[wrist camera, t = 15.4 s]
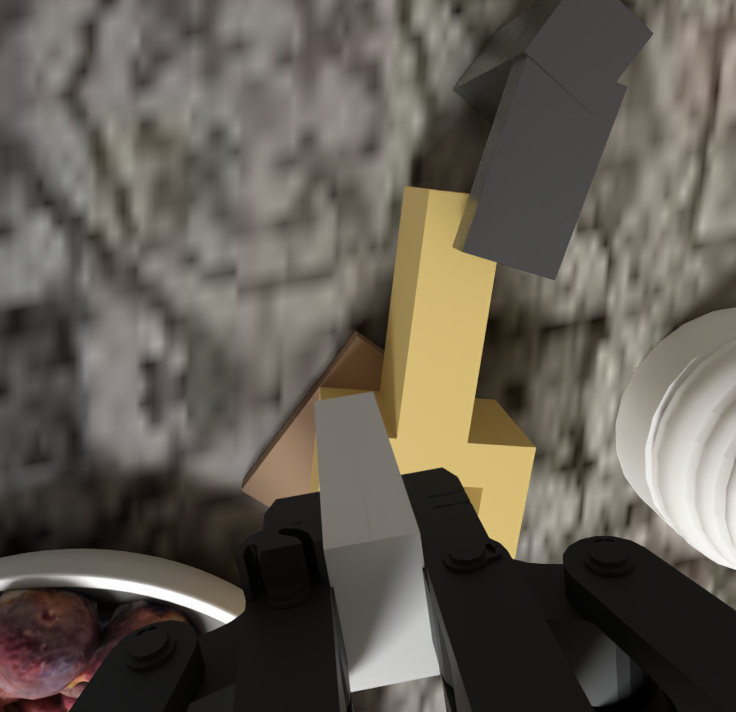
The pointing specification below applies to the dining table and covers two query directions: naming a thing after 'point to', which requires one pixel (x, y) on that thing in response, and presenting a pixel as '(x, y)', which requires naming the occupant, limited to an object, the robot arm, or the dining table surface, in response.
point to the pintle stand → (311, 425)
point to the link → (446, 369)
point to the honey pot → (686, 433)
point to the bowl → (91, 616)
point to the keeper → (543, 126)
